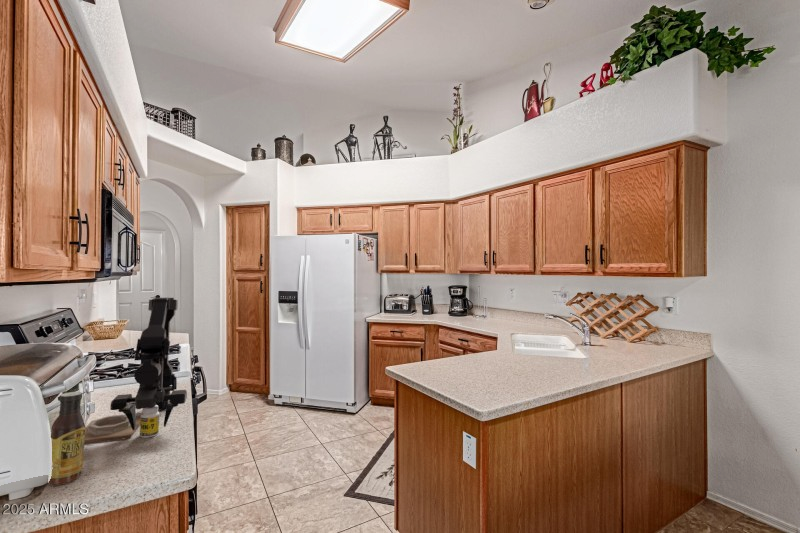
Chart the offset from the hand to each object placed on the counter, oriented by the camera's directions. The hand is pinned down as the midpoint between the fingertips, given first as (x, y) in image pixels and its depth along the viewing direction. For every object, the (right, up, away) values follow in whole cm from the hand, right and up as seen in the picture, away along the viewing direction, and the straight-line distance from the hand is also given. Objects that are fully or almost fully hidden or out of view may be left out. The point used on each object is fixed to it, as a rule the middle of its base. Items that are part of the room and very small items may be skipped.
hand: (149, 428), depth 114 cm
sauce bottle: (-3, -2, -25) cm, 25 cm away
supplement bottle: (0, -2, 0) cm, 2 cm away
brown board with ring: (-13, -2, +2) cm, 14 cm away
